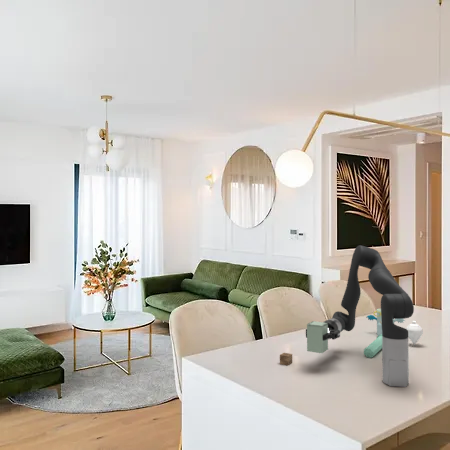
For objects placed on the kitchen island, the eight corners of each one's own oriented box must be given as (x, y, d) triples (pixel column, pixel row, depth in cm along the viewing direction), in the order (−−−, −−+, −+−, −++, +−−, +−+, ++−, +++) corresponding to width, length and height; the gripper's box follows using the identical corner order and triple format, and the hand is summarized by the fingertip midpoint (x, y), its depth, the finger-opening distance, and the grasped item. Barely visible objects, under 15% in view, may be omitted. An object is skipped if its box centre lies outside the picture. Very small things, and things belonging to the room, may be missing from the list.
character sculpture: (363, 335, 249) (363, 310, 249) (368, 330, 259) (368, 306, 259) (403, 339, 239) (403, 313, 239) (406, 335, 249) (406, 309, 249)
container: (371, 345, 207) (386, 332, 228) (359, 348, 210) (374, 335, 231) (377, 358, 206) (390, 344, 227) (364, 361, 209) (379, 347, 230)
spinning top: (408, 342, 233) (408, 318, 233) (425, 345, 228) (424, 320, 228) (403, 346, 227) (403, 321, 227) (420, 348, 222) (419, 323, 222)
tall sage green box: (327, 349, 193) (327, 322, 193) (322, 353, 188) (321, 326, 188) (313, 347, 197) (313, 321, 196) (307, 351, 191) (306, 324, 191)
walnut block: (292, 363, 201) (292, 354, 201) (288, 365, 198) (288, 356, 198) (283, 361, 204) (283, 352, 204) (279, 364, 200) (279, 354, 200)
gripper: (314, 318, 208) (298, 325, 194) (346, 321, 200) (332, 330, 186) (314, 334, 208) (298, 343, 194) (346, 339, 200) (332, 348, 186)
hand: (315, 336), depth 190 cm, fingers closed on tall sage green box, 6 cm apart
